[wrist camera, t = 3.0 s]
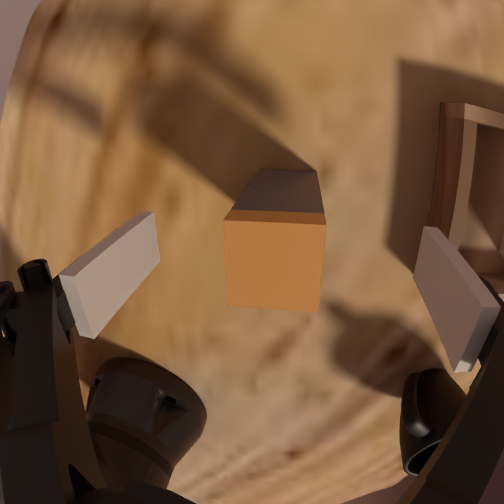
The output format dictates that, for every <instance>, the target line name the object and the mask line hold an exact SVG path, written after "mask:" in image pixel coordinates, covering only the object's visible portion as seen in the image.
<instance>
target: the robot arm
mask: <svg viewBox="0 0 504 504" xmlns="http://www.w3.org/2000/svg"><path fill="white" fill-rule="evenodd" d="M159 262H160V254H159V247H158V240H157V233H156V226H155V218H154V212H140V213H138V214H137V215H135V216H134V217H133V218H131V219H130V220H129V221H127V222H126V223H124V224H123V225H122V226H120V227H119V228H118V229H116V230H115V231H114V232H112V233H111V234H110V235H108V236H107V237H106V238H104V239H103V240H102V241H100V242H99V243H98V244H96V245H95V246H94V247H92V248H91V249H90V250H89V251H87V252H86V253H85V254H84V255H82V256H81V257H79V258H78V259H77V260H75V261H74V262H73V263H72V264H70V265H69V266H68V267H67V268H66V269H64V270H63V271H62V272H61V273H59V274H58V275H57V276H56V277H55V278H53V279H52V276H51V273H50V270H49V266H48V263H47V260H45V259H36V260H32V261H29V262H27V263H25V264H23V265H22V266H21V267H20V268H19V269H18V271H17V272H18V275H19V278H20V281H21V283H22V286H23V289H24V292H15V289H14V287H13V284H12V282H10V281H4V282H0V504H196V503H194V502H192V501H190V500H188V499H186V498H184V497H182V496H180V495H178V494H176V493H174V492H172V491H170V490H166V489H167V486H168V483H169V480H170V477H171V475H172V472H173V469H174V467H175V466H176V464H177V463H178V462H179V461H180V460H181V459H182V458H183V456H184V455H185V454H186V453H187V452H188V451H189V450H190V448H191V447H192V446H193V445H194V444H195V443H196V441H197V440H198V439H199V438H200V436H201V434H202V432H203V429H204V426H205V423H206V420H207V413H206V409H205V406H204V404H203V403H202V401H201V399H200V398H199V397H198V396H197V394H196V393H195V392H194V391H193V390H192V389H191V388H190V387H189V386H188V385H186V384H185V383H184V382H182V381H181V380H180V379H178V378H177V377H175V376H174V375H172V374H170V373H169V372H167V371H165V370H163V369H161V368H159V367H157V366H154V365H152V364H149V363H147V362H143V361H140V360H136V359H130V358H115V359H110V360H108V361H106V362H105V363H103V364H102V365H101V367H100V368H99V370H98V371H97V373H96V374H95V375H94V377H93V379H92V382H91V387H90V391H89V396H88V401H87V405H86V410H85V409H84V405H83V399H82V394H81V389H80V383H79V377H78V371H77V364H76V357H75V350H74V342H73V336H72V333H71V330H70V328H71V327H72V326H73V325H74V324H76V327H77V330H78V332H79V335H80V336H84V337H88V338H92V339H95V338H96V337H97V335H98V334H99V333H100V332H101V330H102V329H103V328H104V327H105V325H106V324H107V323H108V322H109V321H110V319H111V318H112V317H113V316H114V315H115V313H116V312H117V311H118V310H119V309H120V307H121V306H122V305H123V304H124V303H125V301H126V300H127V299H128V298H129V297H130V296H131V294H132V293H133V292H134V291H135V290H136V288H137V287H138V286H139V285H140V284H141V283H142V282H143V280H144V279H145V278H146V277H147V276H148V275H149V273H150V272H151V271H152V270H153V269H154V268H155V267H156V266H157V264H158V263H159ZM413 279H414V281H415V283H416V285H417V287H418V289H419V291H420V293H421V296H422V298H423V300H424V302H425V304H426V306H427V308H428V311H429V313H430V315H431V317H432V320H433V322H434V324H435V326H436V329H437V331H438V333H439V336H440V338H441V341H442V343H443V346H444V348H445V350H446V353H447V356H448V358H449V361H450V363H451V366H452V368H453V371H454V372H467V371H472V369H473V367H474V365H475V363H476V361H477V359H479V361H480V364H481V368H480V370H479V372H478V373H477V375H476V377H475V379H474V381H473V382H472V384H471V386H470V390H469V392H468V394H467V396H466V398H465V400H464V402H463V404H462V405H461V407H460V409H459V411H458V413H457V415H456V416H455V418H454V420H453V422H452V423H451V425H450V427H449V428H448V430H447V432H446V433H445V435H444V437H443V438H442V440H441V441H440V443H439V445H438V446H437V448H436V449H435V451H434V452H433V454H432V455H431V457H430V458H429V460H428V461H427V463H426V464H425V466H424V467H423V468H422V470H421V471H420V473H419V474H418V475H417V477H416V478H415V479H414V481H413V482H412V483H411V485H410V486H409V487H408V489H407V490H406V491H405V492H404V494H403V495H402V496H401V497H400V499H399V500H398V501H397V502H396V504H478V502H479V500H480V498H481V496H482V494H483V492H484V490H485V488H486V486H487V484H488V482H489V480H490V478H491V476H492V473H493V471H494V469H495V467H496V465H497V462H498V460H499V458H500V455H501V453H502V450H503V448H504V302H503V300H502V299H501V297H499V295H498V293H497V292H496V291H494V290H495V289H494V288H493V287H492V286H491V284H490V283H489V282H488V281H486V280H485V279H484V278H482V277H481V276H478V275H477V274H476V273H475V271H474V270H473V269H472V268H471V266H470V265H469V264H468V263H467V261H466V260H465V259H464V258H463V257H462V255H461V254H460V253H459V252H458V251H457V249H456V248H455V247H454V246H453V245H452V243H451V242H450V241H449V240H448V239H447V238H446V237H445V235H444V234H443V233H442V232H441V231H440V230H439V229H438V228H437V227H427V226H423V232H422V237H421V242H420V247H419V252H418V257H417V262H416V266H415V270H414V275H413ZM1 328H2V329H1ZM2 331H3V333H4V335H5V337H3V335H2Z"/></svg>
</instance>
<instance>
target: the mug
mask: <svg viewBox="0 0 504 504" xmlns="http://www.w3.org/2000/svg"><path fill="white" fill-rule="evenodd" d="M466 396H467V395H466V394H465V393H464V391H463V390H462V389H461V388H460V386H459V385H458V384H457V383H456V382H455V381H454V380H453V379H452V378H451V377H450V375H449V374H448V373H447V372H446V371H445V370H442V369H429V370H426V371H423V372H421V373H413V374H411V375H410V376H409V377H408V378H407V379H406V381H405V385H404V390H403V395H402V402H401V415H400V431H399V433H400V448H401V455H402V463H403V469H404V471H405V472H406V473H407V474H409V475H413V476H417V475H418V474H419V473H420V471H421V470H422V468H423V467H424V466H425V464H426V463H427V461H428V460H429V458H430V457H431V455H432V454H433V452H434V451H435V449H436V448H437V446H438V445H439V443H440V441H441V440H442V438H443V437H444V435H445V433H446V432H447V430H448V428H449V427H450V425H451V423H452V422H453V420H454V418H455V416H456V415H457V413H458V411H459V409H460V407H461V405H462V404H463V402H464V400H465V398H466Z"/></svg>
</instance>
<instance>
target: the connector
mask: <svg viewBox="0 0 504 504" xmlns="http://www.w3.org/2000/svg"><path fill="white" fill-rule="evenodd" d="M223 231H224V251H225V269H226V286H227V302H228V306H239V307H251V308H264V309H278V310H293V311H310V312H318V307H319V299H320V290H321V280H322V270H323V259H324V248H325V236H326V220H325V214H324V208H323V203H322V197H321V192H320V186H319V181H318V176H317V171H299V170H270V169H260V170H259V171H258V173H257V174H256V176H255V177H254V178H253V180H252V181H251V182H250V184H249V185H248V186H247V188H246V189H245V191H244V192H243V193H242V195H241V196H240V197H239V199H238V200H237V202H236V203H235V204H234V206H233V207H232V209H231V210H230V211H229V213H228V214H227V215H226V217H225V218H224V220H223Z"/></svg>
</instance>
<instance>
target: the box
mask: <svg viewBox="0 0 504 504" xmlns="http://www.w3.org/2000/svg"><path fill="white" fill-rule="evenodd" d="M428 227H437V228H438V229H439V230H440V231H441V232H442V233H443V234H444V235H445V237H446V238H447V239H448V240H449V241H450V242H451V243H452V245H453V246H454V247H455V248H456V249H457V251H458V252H459V253H460V254H461V255H462V257H463V258H464V259H465V260H466V261H467V263H468V264H469V265H470V266H471V268H472V269H473V270H474V271H475V273H476V274H477V275H478V276H481V277H482V278H484V279H485V280H486V281H488V282H489V283H490V284H491V286H492V287H493V288H494V289H495V290H494V291H496V292H497V293H498V295H499V297H501V299H502V300H503V302H504V114H503V113H499V112H496V111H493V110H489V109H486V108H482V107H478V106H474V105H471V104H467V103H440V126H439V141H438V154H437V164H436V173H435V182H434V189H433V197H432V203H431V210H430V216H429V222H428Z"/></svg>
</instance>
